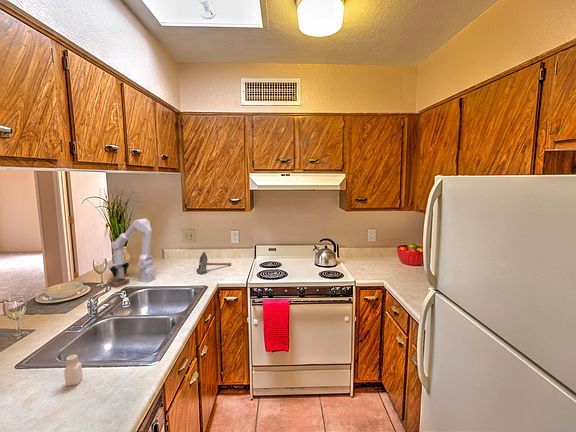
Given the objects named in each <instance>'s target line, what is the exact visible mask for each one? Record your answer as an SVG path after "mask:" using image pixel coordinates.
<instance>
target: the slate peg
mask: <svg viewBox="0 0 576 432" xmlns="http://www.w3.org/2000/svg"><path fill="white" fill-rule="evenodd" d="M116 268H117V270H116V277H115V279H116V278H120V277H121V278H125V274H124V267H122V266H116Z"/></svg>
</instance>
